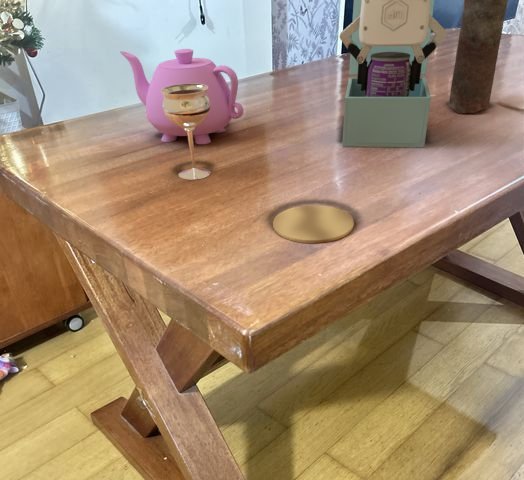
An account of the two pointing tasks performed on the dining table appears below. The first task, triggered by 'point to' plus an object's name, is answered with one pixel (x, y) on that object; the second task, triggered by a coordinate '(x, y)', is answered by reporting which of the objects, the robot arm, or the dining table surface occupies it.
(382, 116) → the chest
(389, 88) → the beverage can
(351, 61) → the chest lid
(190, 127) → the wineglass
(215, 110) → the teapot
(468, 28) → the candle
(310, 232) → the coaster
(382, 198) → the dining table surface
